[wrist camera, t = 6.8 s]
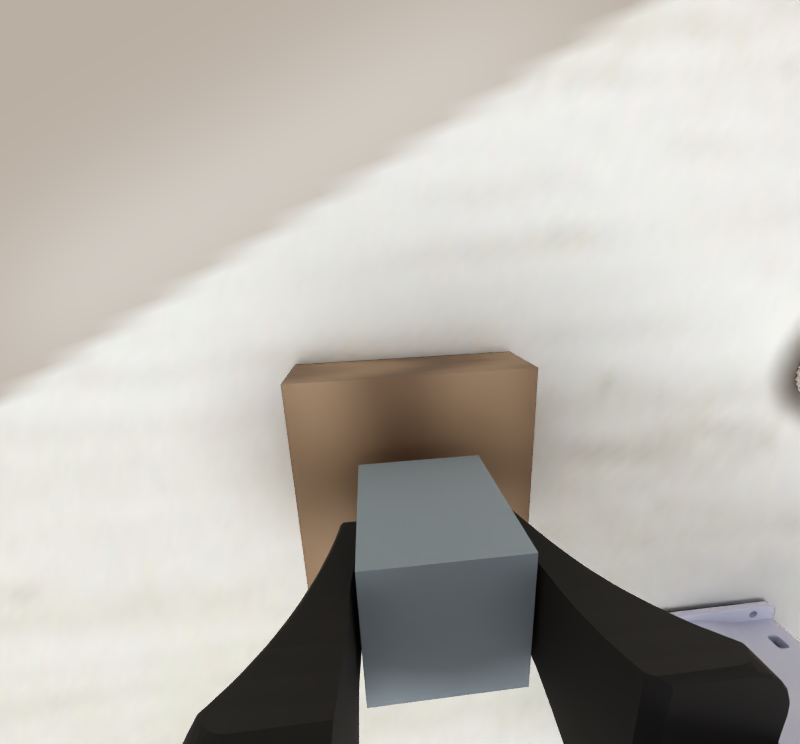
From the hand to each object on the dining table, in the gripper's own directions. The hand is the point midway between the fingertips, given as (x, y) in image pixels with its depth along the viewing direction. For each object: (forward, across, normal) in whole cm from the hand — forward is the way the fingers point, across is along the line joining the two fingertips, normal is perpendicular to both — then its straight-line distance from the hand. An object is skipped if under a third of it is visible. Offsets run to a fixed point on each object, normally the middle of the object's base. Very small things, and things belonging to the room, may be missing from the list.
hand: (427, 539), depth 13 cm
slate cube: (+2, 0, 0) cm, 2 cm away
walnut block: (+6, 0, 0) cm, 6 cm away
